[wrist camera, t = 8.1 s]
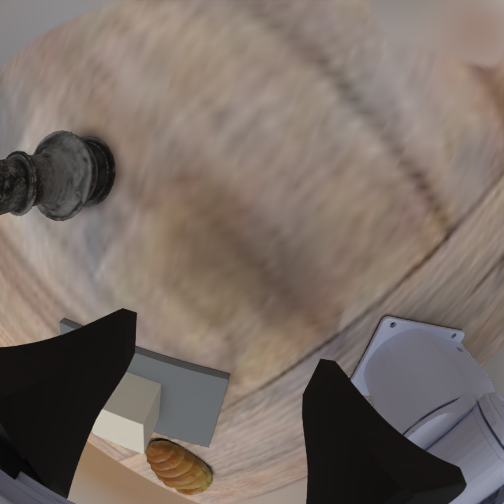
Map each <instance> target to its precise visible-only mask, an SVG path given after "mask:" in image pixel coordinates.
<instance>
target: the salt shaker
mask: <svg viewBox="0 0 504 504" xmlns="http://www.w3.org/2000/svg"><path fill="white" fill-rule="evenodd" d="M114 178H115V163H114V158H113V155H112V153H111V151H110V149H109V147H108V146H107V145H106V144H105V143H104V142H103V141H102V140H100V139H98V138H95V137H90V136H89V137H82V138H79V137H78V136H77V135H75V134H73V133H72V132H68V131H57V132H53V133H51V134H50V135H48V136H46V137H45V138H44V139H43V140H42V141H41V142H40V143H39V145H38V146H37V148H36V150H35V152H34V154H33V155H28V154H27V153H25V152H23V151H15V152H13V153H11V154H10V155H8V157H7V158H6V159H3V160H0V215H2V214H5V213H8V212H10V213H11V214H13V215H16V216H22V215H24V214H26V213H27V212H28V211H29V210H30V209H31V208H32V206H35V205H36V206H37V207H38V209H39V210H40V212H41V213H43V214H44V215H45V216H46V217H48V218H50V219H52V220H55V221H64V220H67V219H70V218H72V217H74V216H75V215H76V214H77V213H79V212H80V210H81V209H82V208H83V207H91V206H94V205H97V204H99V203H100V202H101V201H103V200H104V199H105V198H106V196H107V195H108V194H109V192H110V190H111V188H112V186H113V182H114Z"/></svg>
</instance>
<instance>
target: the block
mask: <svg viewBox="0 0 504 504" xmlns="http://www.w3.org/2000/svg"><path fill="white" fill-rule="evenodd" d="M160 395H161V384H160V383H157V382H154V381H151V380H148V379H145V378H142V377H139V376H137V375H134V374H131V373H128V372H126V373H125V375H124V376H123V378H122V380H121V381H120V383H119V384H118V386H117V387H116V389H115V390H114V392H113V393H112V395H111V396H110V398H109V400H108V401H107V403H106V404H105V406H104V407H103V409H102V410H101V412H100V414H99V416H98V417H97V419H96V421H95V423H94V426H93V428H92V430H93V434H95V435H97V436H99V437H101V438H103V439H106V440H108V441H111V442H113V443H115V444H118V445H120V446H123V447H125V448H128V449H131V450H133V451H136V452H139V453H142V454H144V453H145V451H146V448H147V446H148V443H149V441H150V438H151V435H152V433H153V430H154V428H155V425H156V423H157V420H158V418H159V409H160Z"/></svg>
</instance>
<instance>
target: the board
mask: <svg viewBox="0 0 504 504" xmlns="http://www.w3.org/2000/svg"><path fill="white" fill-rule="evenodd" d="M59 323H60V331H61V335H63V334H65V333H68V332H70V331H73V330H75V329H78V328H80V327H83V326H81V325H79V324H76V323H74V322H72V321H70V320H67V319H65V318H63V319H62V320H61V321H60V322H59ZM126 372H128V373H131V374H134V375H137V376H139V377H142V378H145V379H148V380H151V381H154V382H157V383H160V384H161V395H160V409H159V418H158V420H157V423H156V425H155V428H154V430H153V432H155V433H158V434H161V435H164V436H167V437H171V438H174V439H178V440H181V441H185V442H189V443H192V444H196V445H200V446H204V447H209V445H210V441H211V438H212V435H213V431H214V428H215V424H216V421H217V418H218V414H219V411H220V408H221V404H222V401H223V397H224V394H225V390H226V387H227V384H228V380H229V375H230V374H229V373H225V372H221V371H217V370H213V369H209V368H205V367H201V366H198V365H194V364H190V363H187V362H183V361H180V360H176V359H173V358H170V357H167V356H163V355H160V354H157V353H154V352H151V351H148V350H145V349H142V348H139V347H136V346H135V354H134V357H133V359H132V361H131V363H130V365H129V367H128V369H127V371H126Z"/></svg>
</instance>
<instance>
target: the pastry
mask: <svg viewBox="0 0 504 504" xmlns="http://www.w3.org/2000/svg"><path fill="white" fill-rule="evenodd" d="M145 453H146V456H147V462H148V463H149V464H150V465H151V469H152V470H153V471H154V472H155V474H156V475H157V477H158V479H159V480H161V481H163V482H164V484H165V485H166V486H168V487H171V488H175V489H176V490H177V491H178V492H180V493H182V494H185V495H195V494H197V493H199V492H203V491H205V490H206V489H207V488H208V487H209V486H210V485H211V484H212V482H213V477H212V474H211V471H210V469H209V468H208V467H207V466H206V464H205V463H204V462H203V461H201V460H200V459H199V458H197V457H196V456H194V455H193V454H191V453H190V452H188V451H187V450H186V449H184V448H182V447H181V446H179V445H175V444H173V443H171V442H169V441H163V440H162V441H153V442H151V443H150V444H149V445H148V446H147V448H146V451H145Z"/></svg>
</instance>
